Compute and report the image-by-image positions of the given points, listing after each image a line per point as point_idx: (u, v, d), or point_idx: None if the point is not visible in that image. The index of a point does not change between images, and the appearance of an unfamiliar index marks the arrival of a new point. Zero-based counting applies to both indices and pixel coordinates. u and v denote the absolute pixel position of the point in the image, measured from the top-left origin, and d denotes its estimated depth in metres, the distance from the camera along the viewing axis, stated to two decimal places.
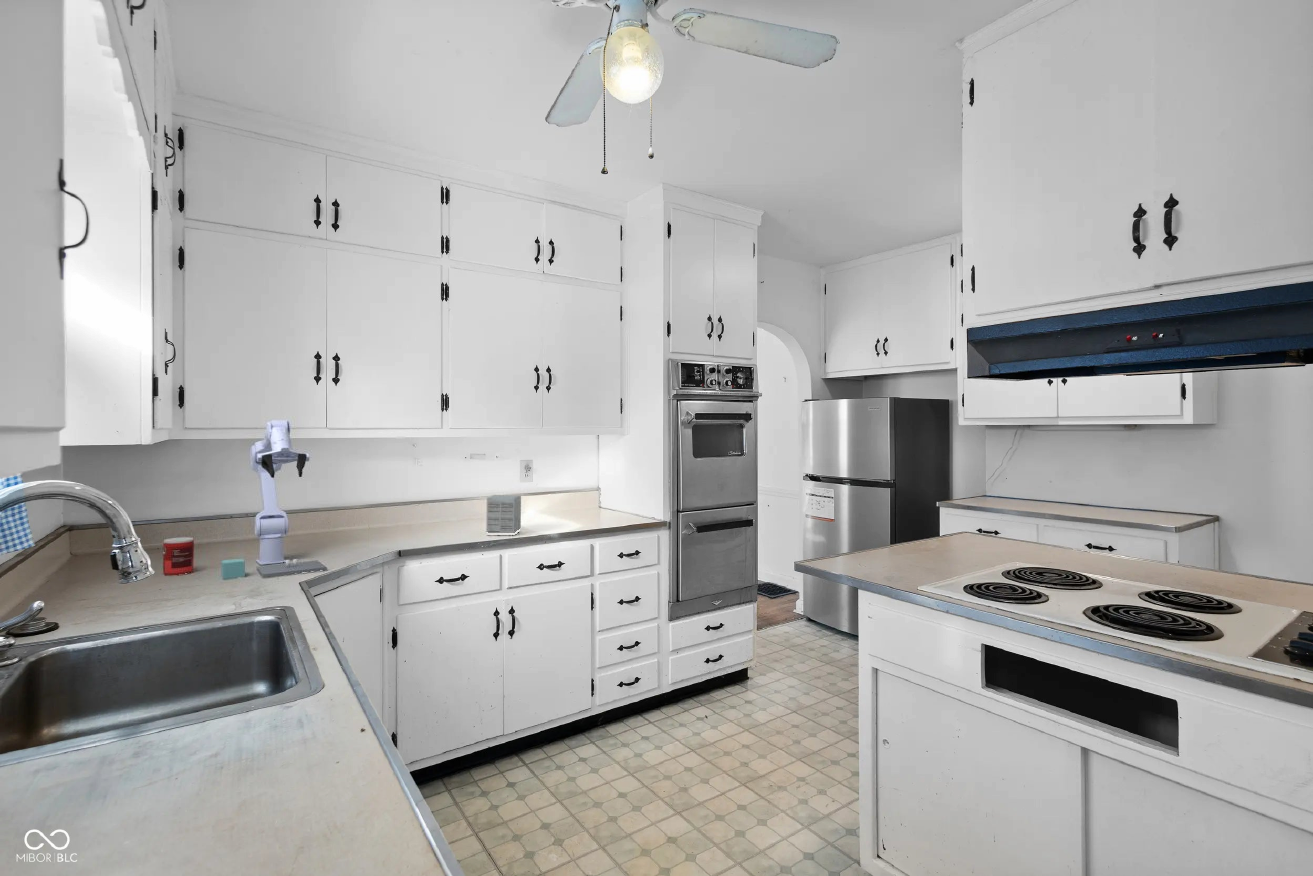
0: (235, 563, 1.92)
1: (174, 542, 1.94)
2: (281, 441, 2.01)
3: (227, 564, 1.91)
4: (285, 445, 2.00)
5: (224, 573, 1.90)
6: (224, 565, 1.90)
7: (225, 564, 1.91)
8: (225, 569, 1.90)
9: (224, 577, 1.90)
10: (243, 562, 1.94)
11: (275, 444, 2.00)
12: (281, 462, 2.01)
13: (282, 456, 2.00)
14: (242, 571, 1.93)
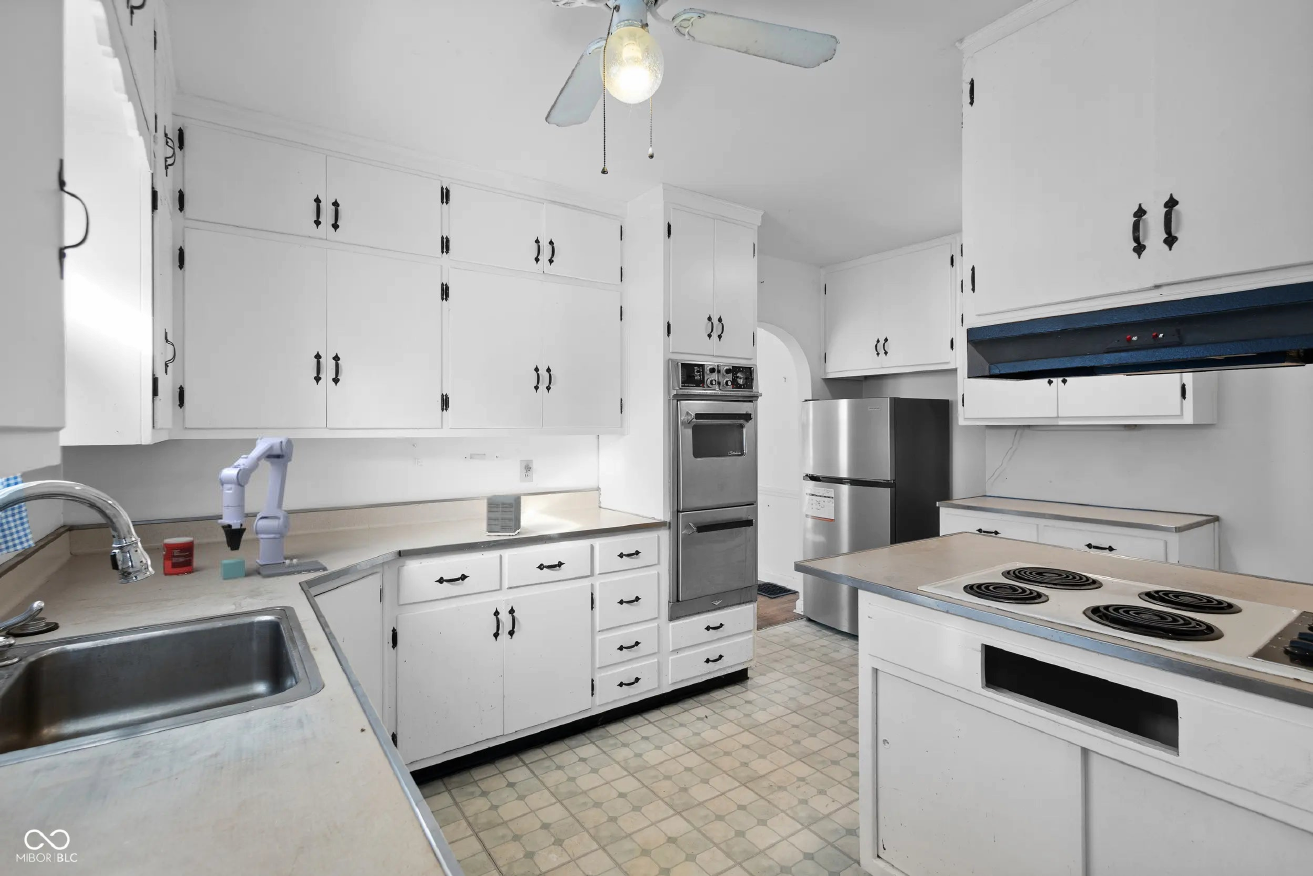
0: (235, 563, 1.92)
1: (174, 542, 1.94)
2: None
3: (227, 564, 1.91)
4: (223, 514, 1.92)
5: (224, 573, 1.90)
6: (224, 565, 1.90)
7: (225, 564, 1.91)
8: (225, 569, 1.90)
9: (224, 577, 1.90)
10: (243, 562, 1.94)
11: None
12: None
13: None
14: (242, 571, 1.93)
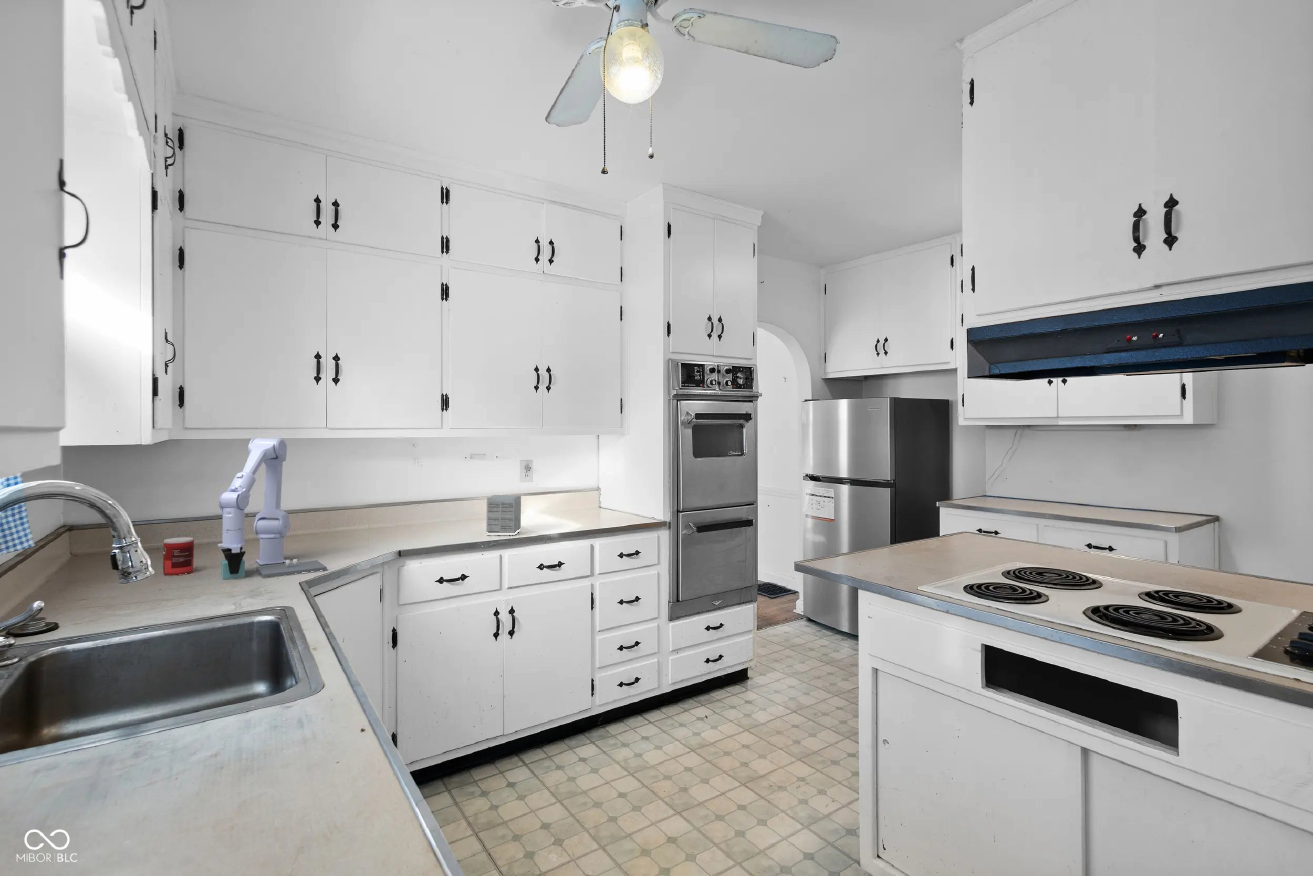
0: None
1: (174, 542, 1.94)
2: None
3: (227, 564, 1.91)
4: (222, 538, 1.92)
5: (224, 573, 1.90)
6: (224, 565, 1.90)
7: (225, 564, 1.91)
8: (225, 569, 1.90)
9: (224, 577, 1.90)
10: (243, 562, 1.94)
11: None
12: None
13: None
14: (242, 571, 1.93)
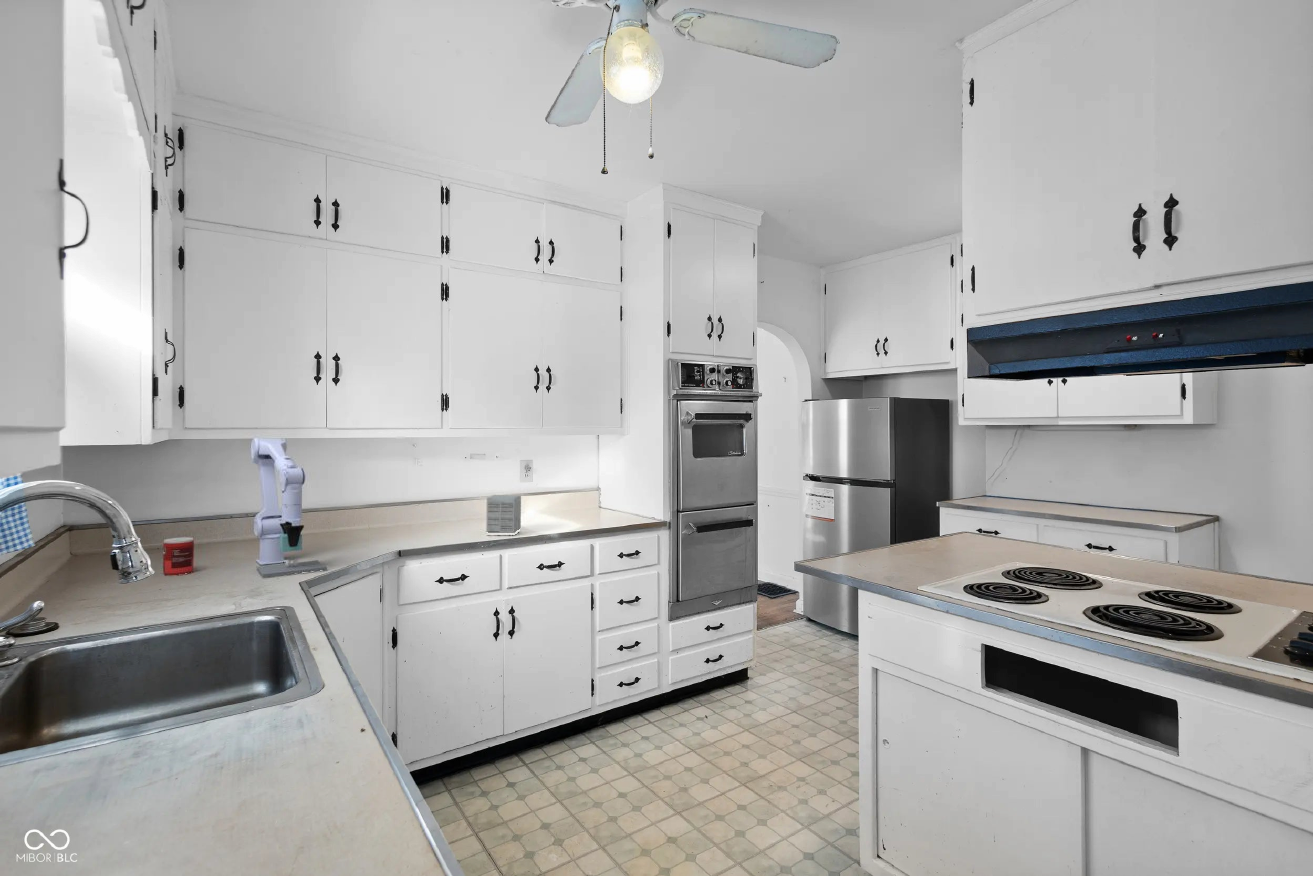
0: None
1: (174, 542, 1.94)
2: (282, 506, 2.02)
3: (286, 537, 2.00)
4: (282, 512, 2.01)
5: (283, 546, 2.00)
6: (283, 538, 2.00)
7: (284, 537, 2.00)
8: (284, 542, 2.00)
9: (283, 550, 2.00)
10: (300, 536, 2.03)
11: None
12: None
13: None
14: (299, 544, 2.03)
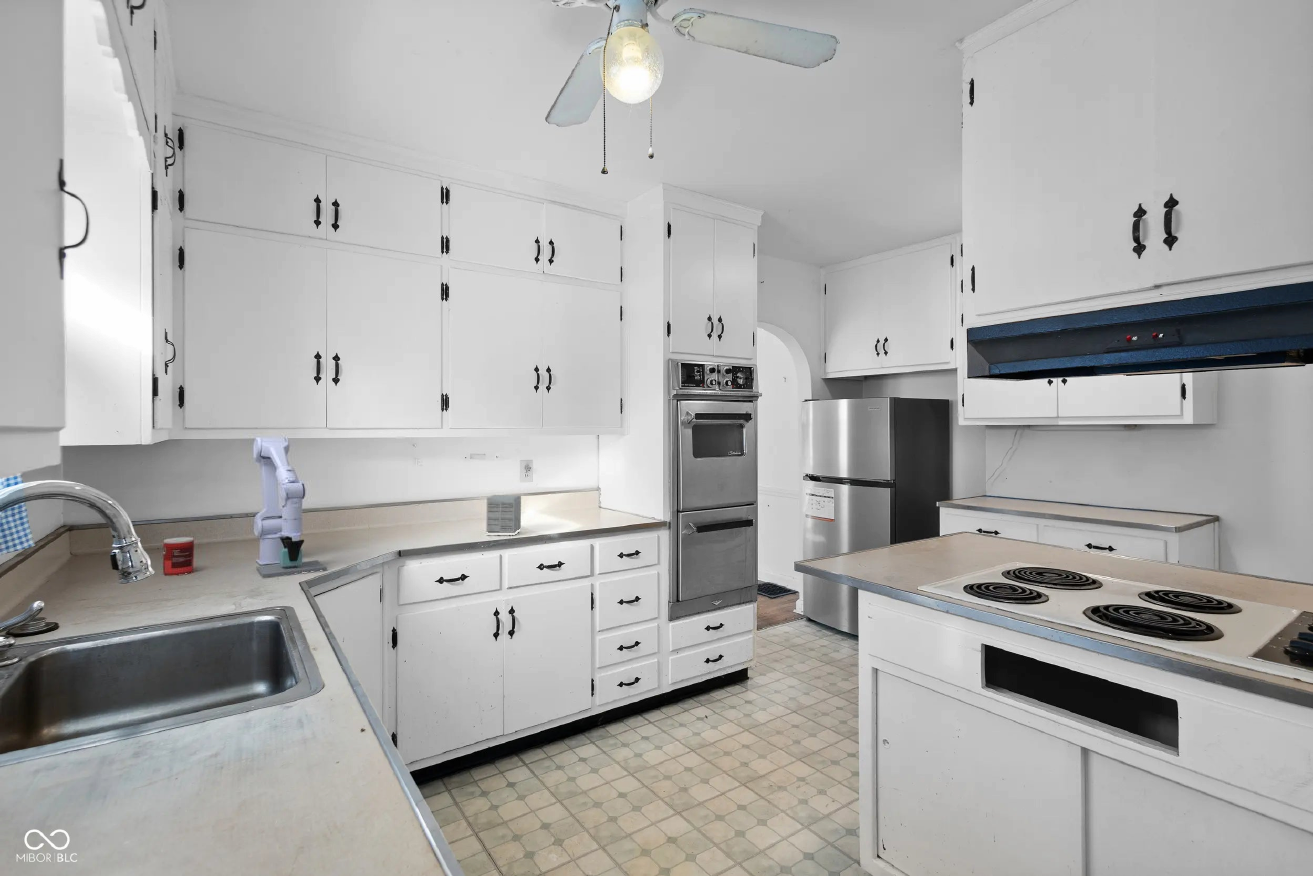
0: None
1: (174, 542, 1.94)
2: (282, 521, 2.02)
3: (286, 552, 2.00)
4: (282, 527, 2.01)
5: (283, 561, 2.00)
6: (283, 553, 2.00)
7: (284, 552, 2.00)
8: (284, 557, 2.00)
9: (283, 564, 2.00)
10: (300, 550, 2.03)
11: None
12: None
13: None
14: (300, 559, 2.03)
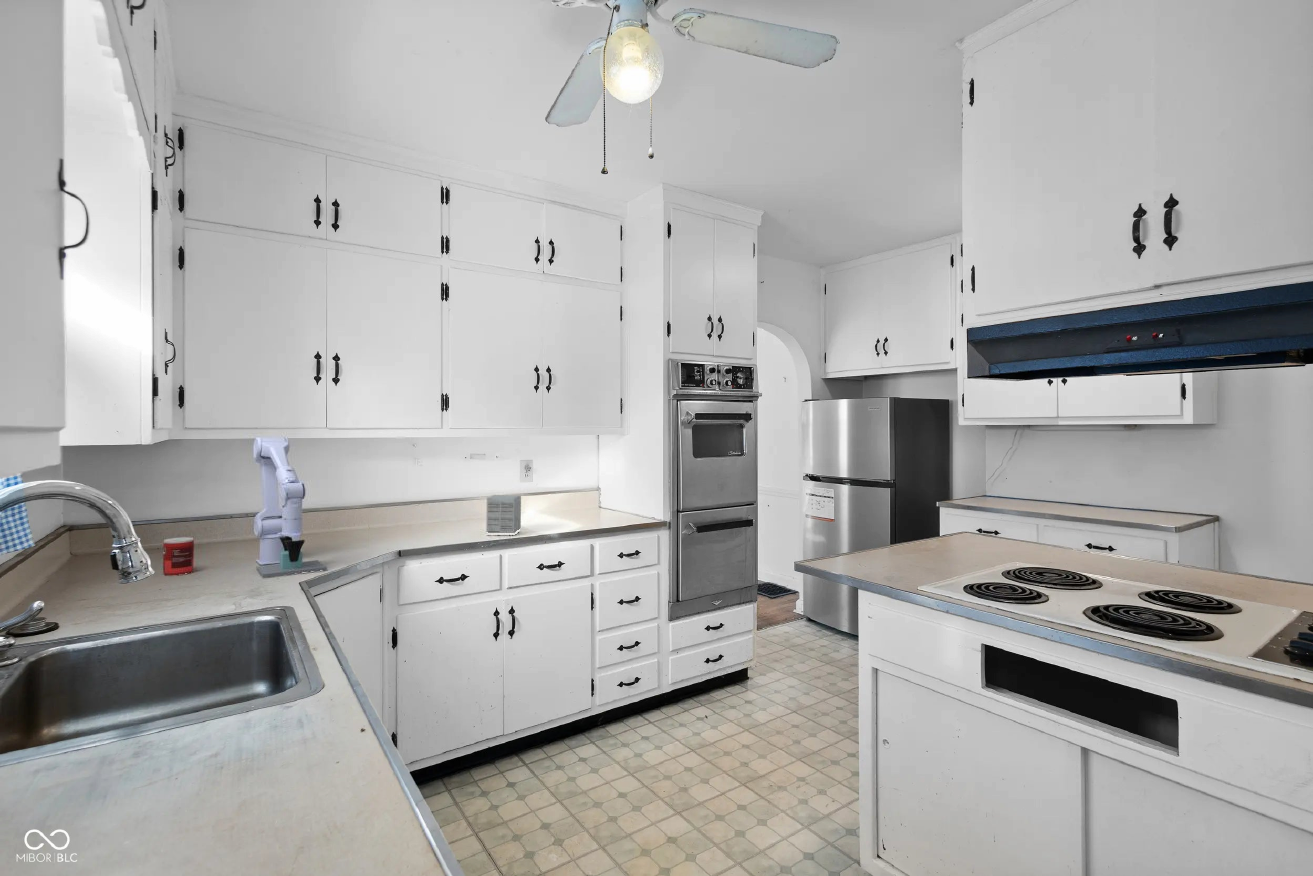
0: None
1: (174, 542, 1.94)
2: (282, 521, 2.02)
3: (286, 555, 2.00)
4: (282, 527, 2.01)
5: (283, 563, 2.00)
6: (283, 556, 2.00)
7: (284, 555, 2.00)
8: (284, 560, 2.00)
9: (283, 567, 2.00)
10: (301, 553, 2.03)
11: None
12: None
13: None
14: (300, 562, 2.03)
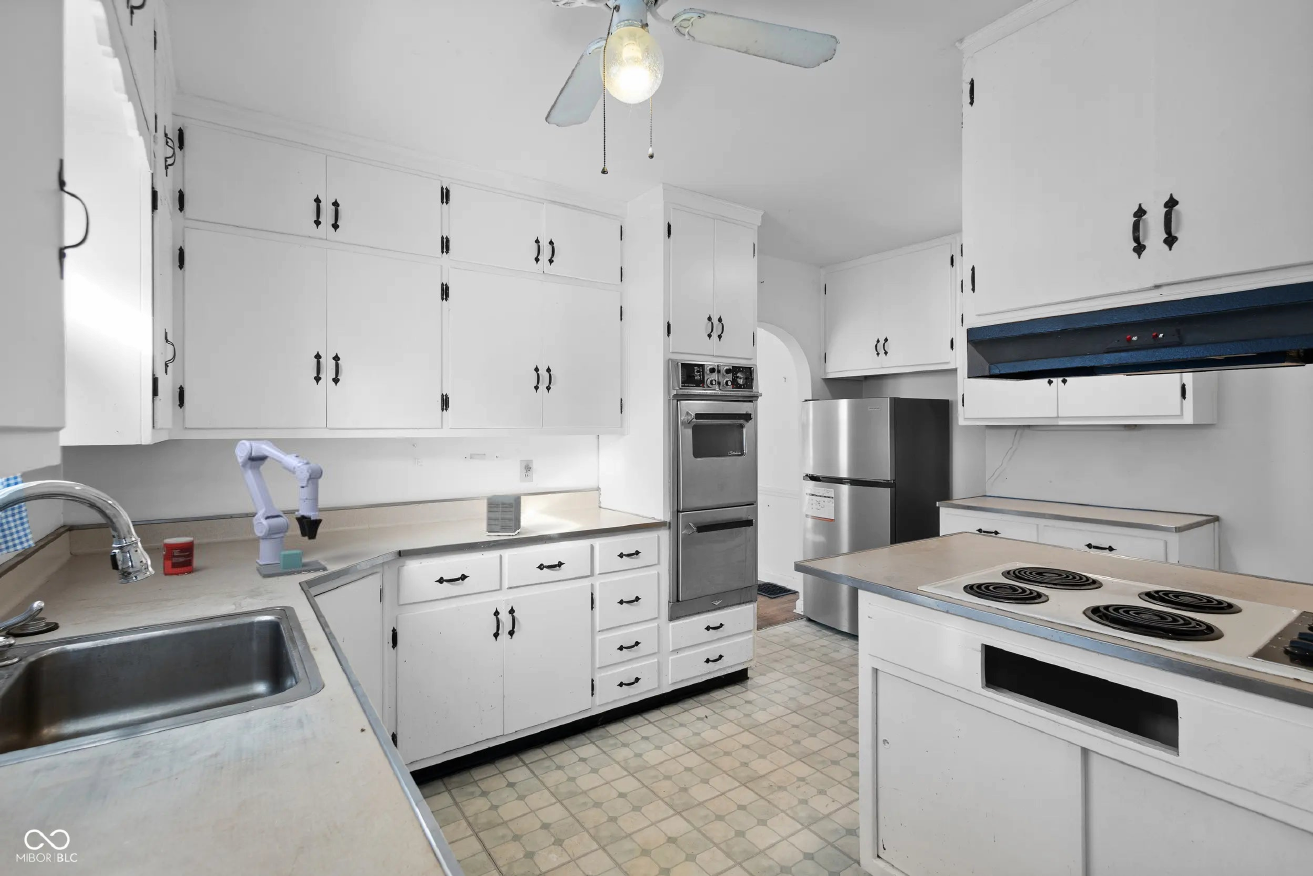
0: (293, 554, 2.02)
1: (174, 542, 1.94)
2: (299, 500, 2.10)
3: (286, 555, 2.00)
4: (300, 506, 2.10)
5: (283, 563, 2.00)
6: (283, 556, 2.00)
7: (284, 555, 2.00)
8: (284, 560, 2.00)
9: (283, 567, 2.00)
10: (301, 553, 2.03)
11: None
12: None
13: None
14: (300, 562, 2.03)
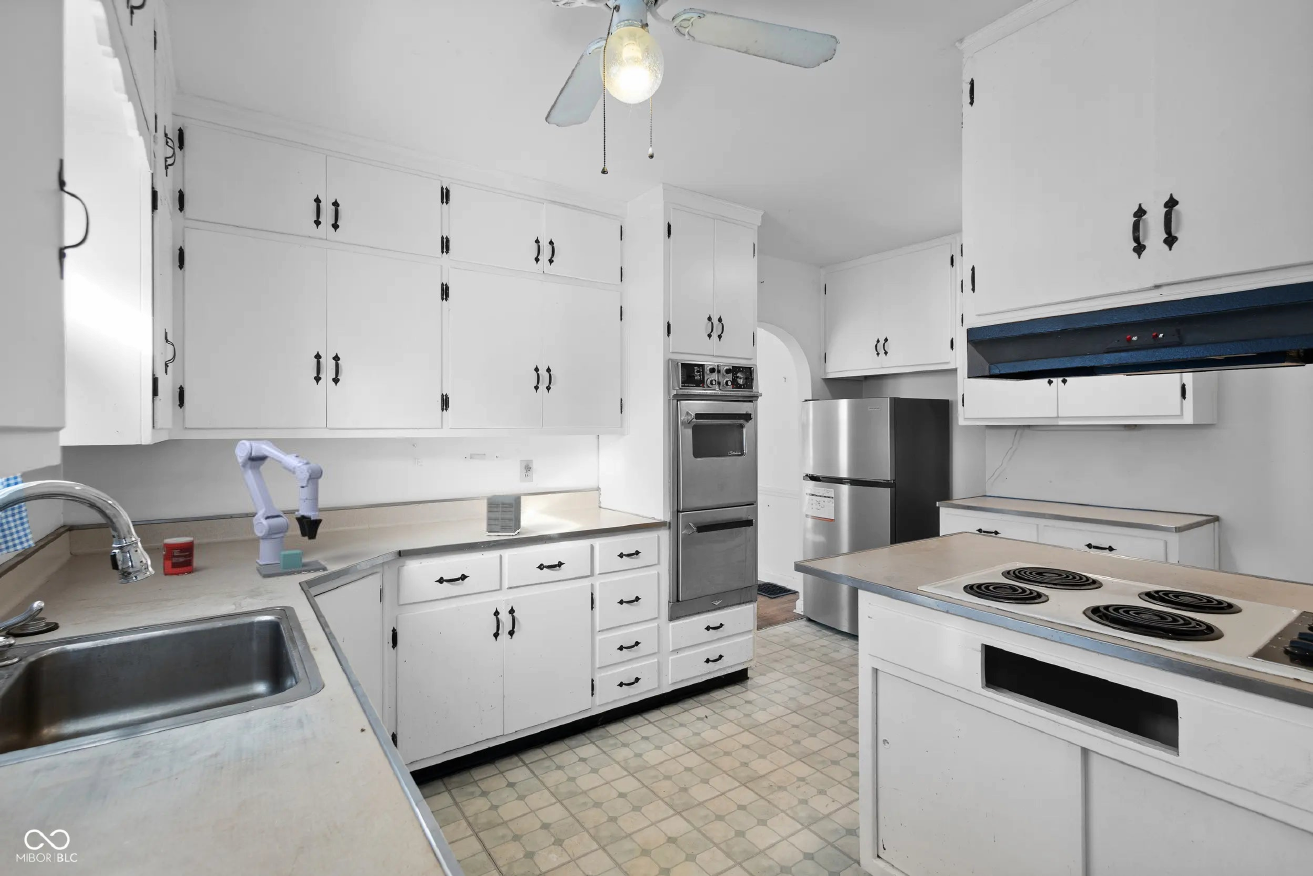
0: (293, 554, 2.02)
1: (174, 542, 1.94)
2: (299, 500, 2.10)
3: (286, 555, 2.00)
4: (300, 506, 2.10)
5: (283, 563, 2.00)
6: (283, 556, 2.00)
7: (284, 555, 2.00)
8: (284, 560, 2.00)
9: (283, 567, 2.00)
10: (301, 553, 2.03)
11: None
12: None
13: None
14: (300, 562, 2.03)
